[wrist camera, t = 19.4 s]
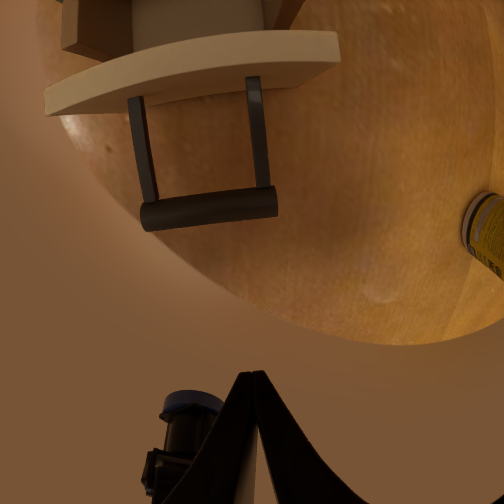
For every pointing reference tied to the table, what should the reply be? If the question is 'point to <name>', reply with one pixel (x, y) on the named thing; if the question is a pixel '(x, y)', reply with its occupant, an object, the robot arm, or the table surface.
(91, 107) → the drawer
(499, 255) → the pill bottle
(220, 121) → the table surface
